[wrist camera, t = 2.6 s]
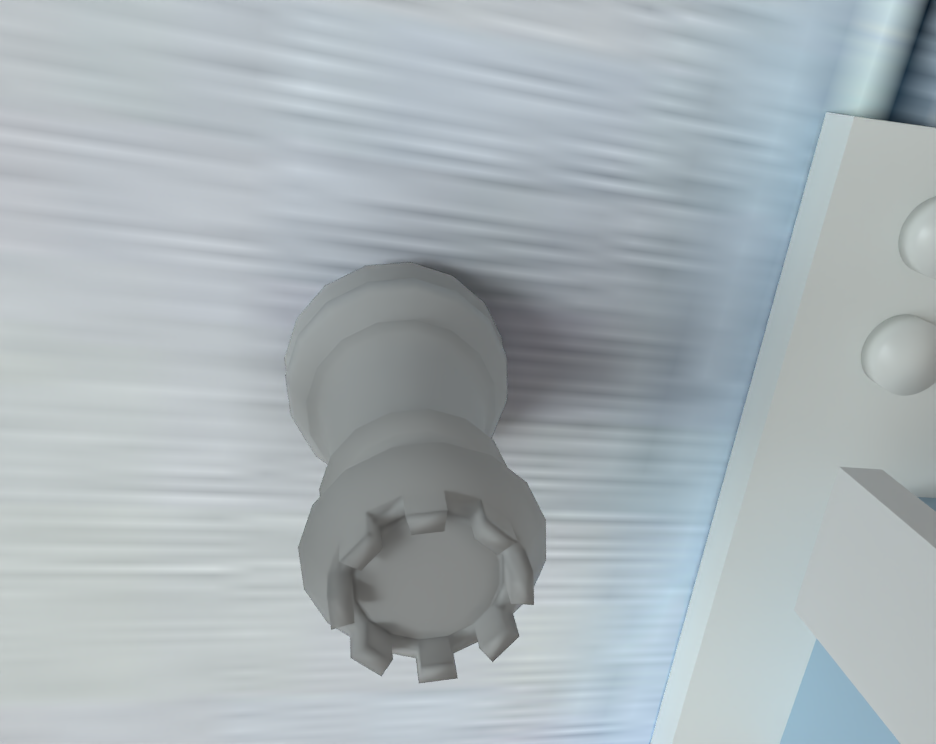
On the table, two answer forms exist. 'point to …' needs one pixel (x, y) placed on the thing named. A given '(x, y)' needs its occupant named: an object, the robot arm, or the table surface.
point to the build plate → (814, 423)
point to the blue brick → (834, 704)
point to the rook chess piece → (410, 470)
